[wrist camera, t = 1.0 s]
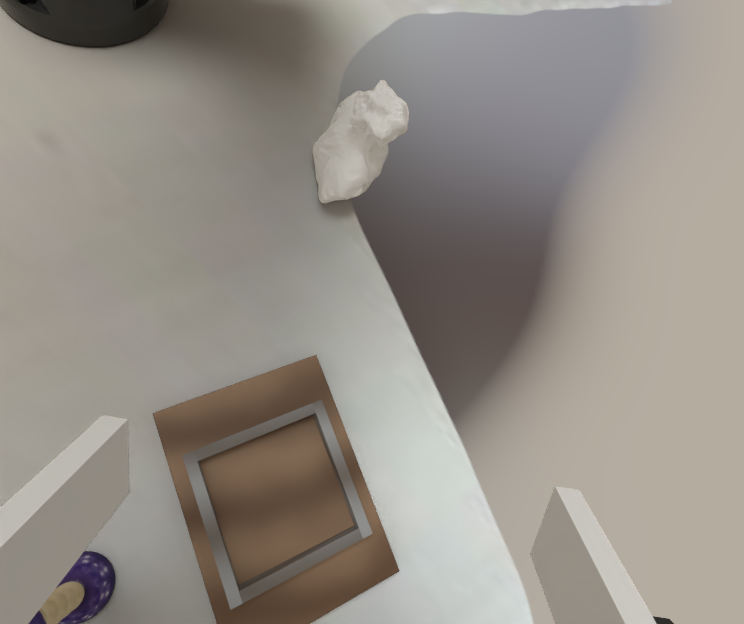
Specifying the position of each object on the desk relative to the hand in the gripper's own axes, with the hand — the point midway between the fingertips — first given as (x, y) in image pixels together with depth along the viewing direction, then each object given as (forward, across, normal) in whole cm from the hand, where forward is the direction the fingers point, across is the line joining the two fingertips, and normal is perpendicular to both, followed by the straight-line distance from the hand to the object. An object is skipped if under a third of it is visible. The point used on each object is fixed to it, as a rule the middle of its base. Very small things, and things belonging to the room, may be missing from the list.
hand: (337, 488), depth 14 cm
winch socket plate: (+17, -4, -16) cm, 24 cm away
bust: (+36, -4, +8) cm, 38 cm away
